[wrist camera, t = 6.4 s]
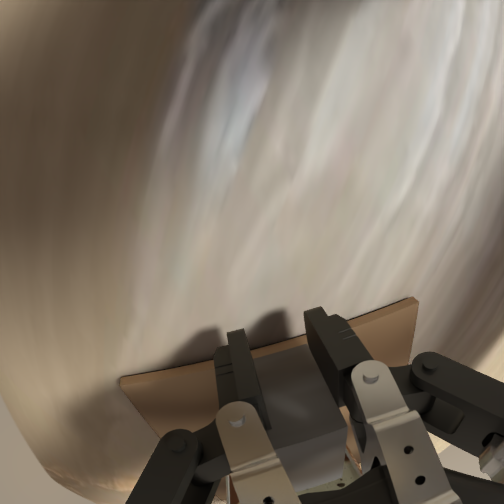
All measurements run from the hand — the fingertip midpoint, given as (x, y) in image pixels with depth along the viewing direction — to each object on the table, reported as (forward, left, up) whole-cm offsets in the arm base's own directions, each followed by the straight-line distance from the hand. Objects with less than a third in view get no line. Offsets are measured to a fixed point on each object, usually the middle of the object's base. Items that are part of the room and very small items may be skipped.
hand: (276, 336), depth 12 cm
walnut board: (+11, 0, -1) cm, 11 cm away
